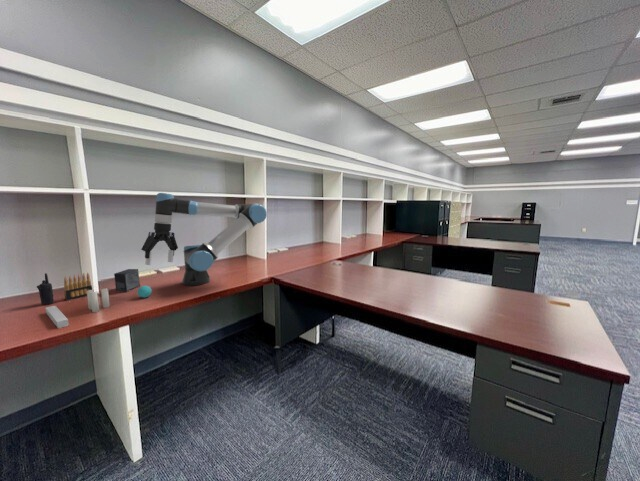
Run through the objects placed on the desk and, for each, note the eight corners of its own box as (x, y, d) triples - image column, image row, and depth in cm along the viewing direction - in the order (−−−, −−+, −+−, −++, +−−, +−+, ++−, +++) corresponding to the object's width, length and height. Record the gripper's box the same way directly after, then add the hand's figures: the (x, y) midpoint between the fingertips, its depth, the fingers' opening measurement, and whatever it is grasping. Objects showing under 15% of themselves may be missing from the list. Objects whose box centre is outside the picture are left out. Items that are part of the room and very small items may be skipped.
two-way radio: (56, 303, 126) (51, 272, 124) (44, 306, 122) (40, 275, 120) (47, 301, 127) (43, 271, 125) (36, 305, 123) (31, 274, 121)
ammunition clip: (66, 300, 129) (63, 277, 127) (65, 300, 130) (62, 276, 128) (93, 294, 138) (90, 272, 137) (91, 293, 139) (89, 272, 138)
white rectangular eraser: (55, 310, 117) (55, 305, 116) (68, 325, 102) (67, 319, 102) (46, 313, 114) (45, 307, 114) (58, 328, 100) (57, 322, 100)
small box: (129, 286, 153) (128, 268, 152) (140, 286, 153) (139, 268, 152) (115, 291, 143) (113, 273, 141) (126, 292, 142) (125, 273, 141)
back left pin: (98, 309, 118) (96, 291, 117) (99, 310, 117) (97, 292, 116) (91, 311, 116) (89, 292, 115) (92, 312, 115) (90, 294, 114)
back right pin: (94, 307, 121) (92, 289, 120) (96, 308, 120) (94, 290, 119) (88, 308, 119) (86, 290, 118) (89, 310, 118) (87, 291, 117)
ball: (149, 294, 138) (148, 283, 138) (154, 296, 135) (153, 285, 134) (136, 297, 134) (135, 286, 133) (140, 300, 130) (139, 288, 129)
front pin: (108, 305, 123) (106, 288, 122) (110, 306, 122) (108, 288, 121) (102, 306, 121) (100, 289, 120) (103, 308, 120) (102, 290, 119)
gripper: (176, 223, 149) (172, 260, 150) (134, 221, 125) (131, 264, 126) (186, 224, 147) (183, 261, 148) (147, 222, 123) (143, 267, 124)
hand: (159, 263), depth 137 cm, fingers open, 13 cm apart
